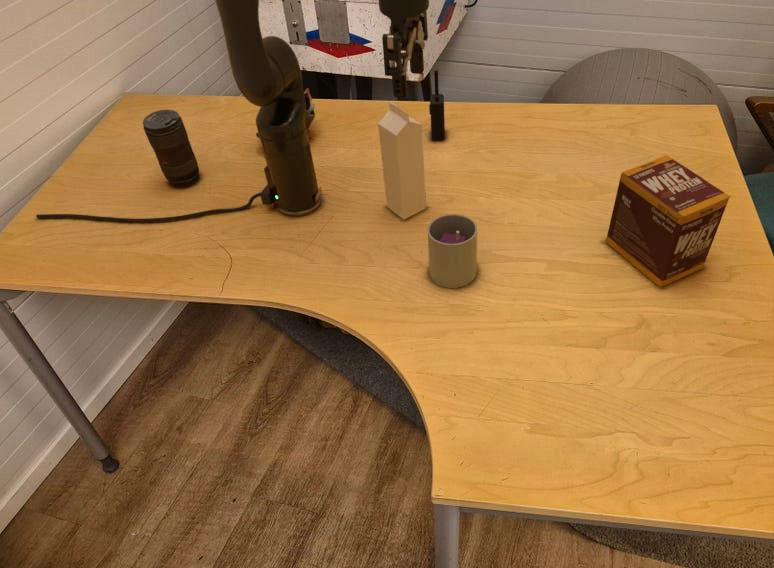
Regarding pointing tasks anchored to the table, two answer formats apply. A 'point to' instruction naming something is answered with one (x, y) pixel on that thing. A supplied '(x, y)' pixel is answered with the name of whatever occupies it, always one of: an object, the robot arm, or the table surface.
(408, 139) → the milk
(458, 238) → the juice box
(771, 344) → the table surface
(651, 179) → the supplement box
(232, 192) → the table surface
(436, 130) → the walkie-talkie
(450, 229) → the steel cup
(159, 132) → the camera lens
